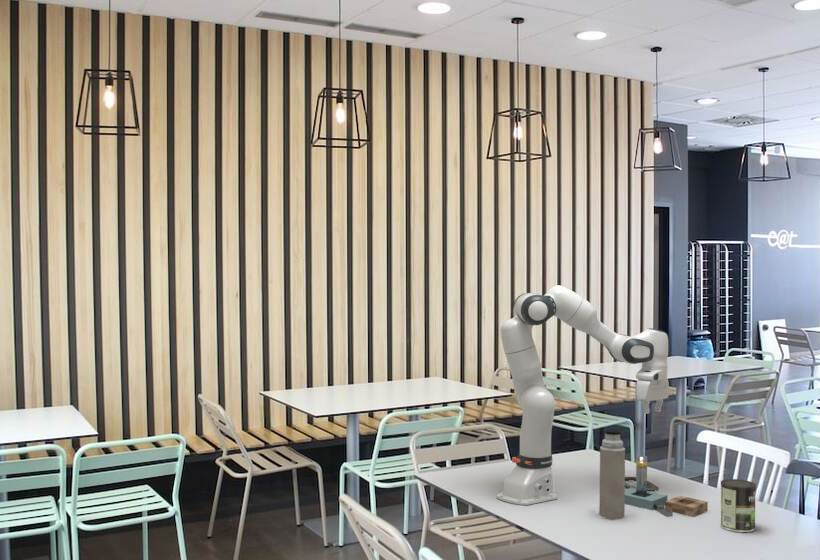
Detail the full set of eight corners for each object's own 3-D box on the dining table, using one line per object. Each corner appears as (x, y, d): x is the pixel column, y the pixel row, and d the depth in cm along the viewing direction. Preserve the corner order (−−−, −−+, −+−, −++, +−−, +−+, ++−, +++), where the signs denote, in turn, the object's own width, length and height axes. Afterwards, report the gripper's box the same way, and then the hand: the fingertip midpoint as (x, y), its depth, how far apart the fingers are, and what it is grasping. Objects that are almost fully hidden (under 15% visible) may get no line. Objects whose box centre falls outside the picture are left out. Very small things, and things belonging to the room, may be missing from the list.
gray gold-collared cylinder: (643, 505, 290) (643, 458, 290) (633, 502, 293) (634, 456, 293) (649, 502, 293) (649, 456, 293) (639, 500, 296) (639, 454, 295)
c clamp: (665, 494, 305) (665, 487, 305) (619, 496, 303) (619, 488, 303) (644, 480, 325) (644, 473, 325) (600, 481, 323) (600, 474, 323)
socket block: (692, 516, 277) (692, 507, 277) (664, 510, 284) (665, 501, 284) (707, 510, 284) (707, 501, 284) (679, 504, 291) (679, 495, 291)
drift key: (672, 516, 278) (672, 510, 278) (666, 516, 277) (666, 511, 277) (659, 509, 286) (659, 503, 286) (654, 509, 285) (654, 504, 285)
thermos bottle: (600, 510, 283) (601, 427, 283) (625, 513, 281) (626, 429, 280) (598, 517, 276) (598, 432, 275) (623, 520, 273) (624, 433, 273)
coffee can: (758, 526, 268) (758, 481, 268) (751, 535, 259) (752, 489, 259) (723, 520, 274) (724, 477, 273) (716, 529, 265) (717, 484, 264)
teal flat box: (652, 510, 284) (652, 501, 284) (615, 501, 295) (615, 492, 294) (667, 504, 291) (667, 495, 291) (631, 495, 301) (631, 487, 301)
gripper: (657, 371, 315) (655, 409, 315) (633, 374, 300) (631, 413, 300) (674, 373, 311) (672, 411, 311) (650, 376, 296) (648, 415, 295)
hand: (652, 412), depth 305 cm, fingers open, 8 cm apart
